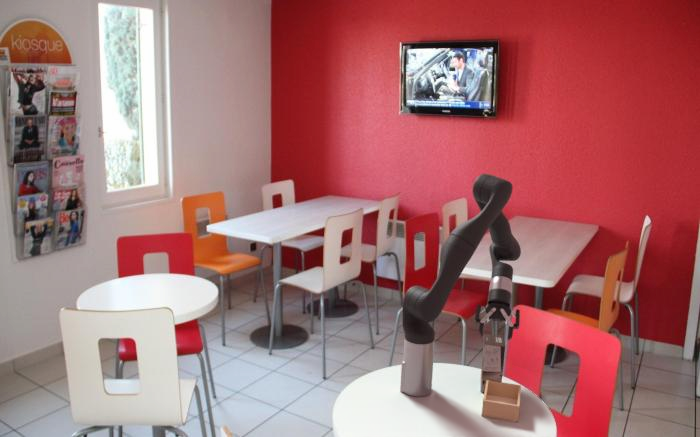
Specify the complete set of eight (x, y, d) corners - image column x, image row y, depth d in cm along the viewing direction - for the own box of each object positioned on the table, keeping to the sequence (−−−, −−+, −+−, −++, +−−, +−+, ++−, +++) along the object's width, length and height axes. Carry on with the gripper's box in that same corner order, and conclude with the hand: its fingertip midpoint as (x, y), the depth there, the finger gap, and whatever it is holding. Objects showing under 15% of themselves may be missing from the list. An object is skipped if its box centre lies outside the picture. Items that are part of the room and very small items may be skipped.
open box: (481, 416, 183) (483, 400, 182) (485, 394, 196) (486, 380, 195) (517, 422, 181) (519, 406, 180) (519, 400, 193) (520, 385, 192)
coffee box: (501, 394, 196) (505, 346, 192) (480, 392, 197) (484, 344, 194) (500, 381, 205) (504, 335, 201) (480, 378, 206) (484, 332, 202)
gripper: (478, 285, 212) (472, 329, 203) (522, 290, 208) (518, 336, 200) (478, 295, 218) (473, 338, 209) (521, 300, 214) (517, 345, 206)
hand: (495, 337), depth 205 cm, fingers open, 8 cm apart
